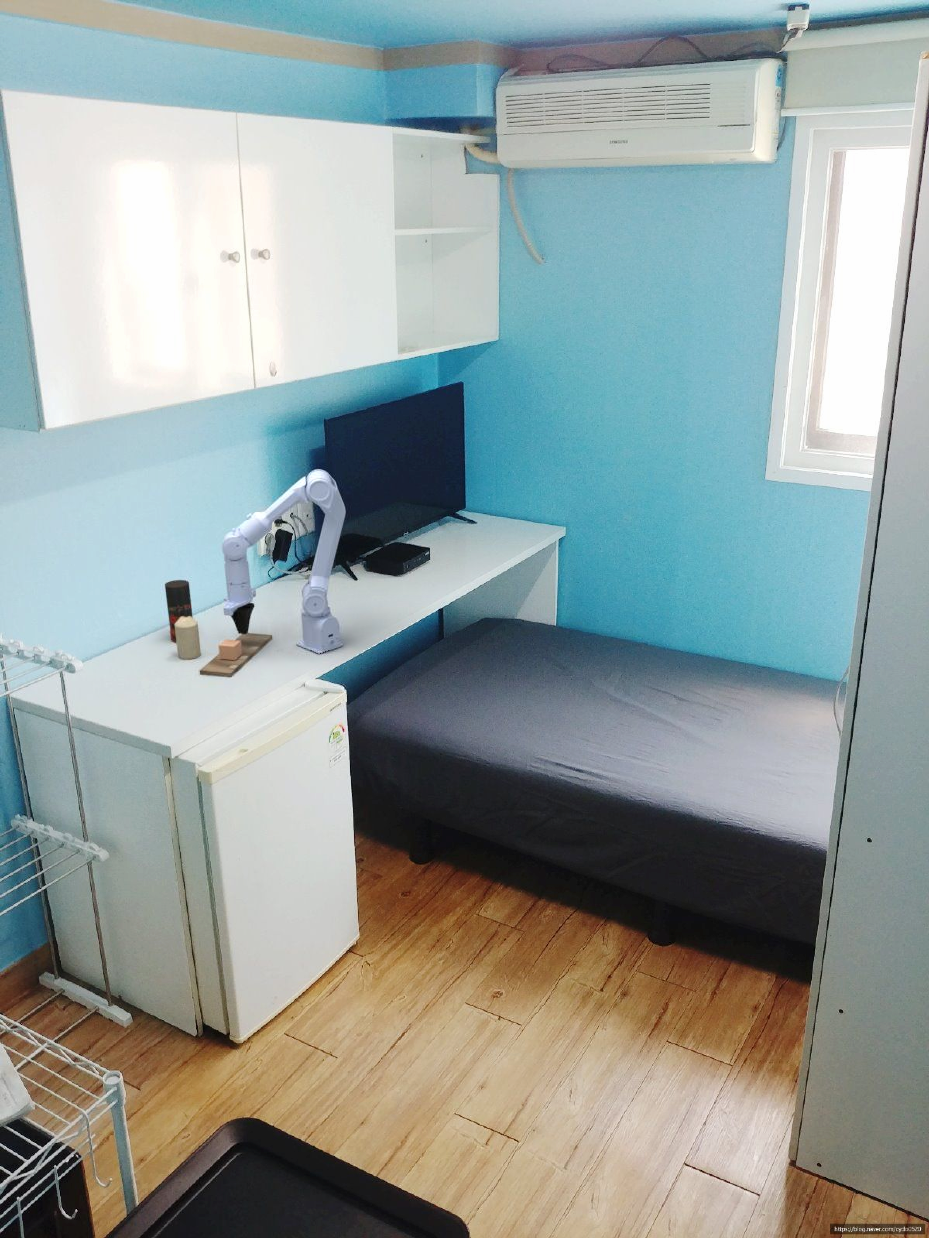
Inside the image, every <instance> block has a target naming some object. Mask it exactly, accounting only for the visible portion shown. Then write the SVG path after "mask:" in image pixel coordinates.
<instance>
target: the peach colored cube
mask: <svg viewBox="0 0 929 1238" xmlns="http://www.w3.org/2000/svg"><path fill="white" fill-rule="evenodd" d="M218 654H220V659H228V660H236V659H237V658H238V657H239V656H240V655H241V654H242V647H241V641H240V640H235V639H224V640H223V641H222V642H221V643H220V644H218Z"/></svg>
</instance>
